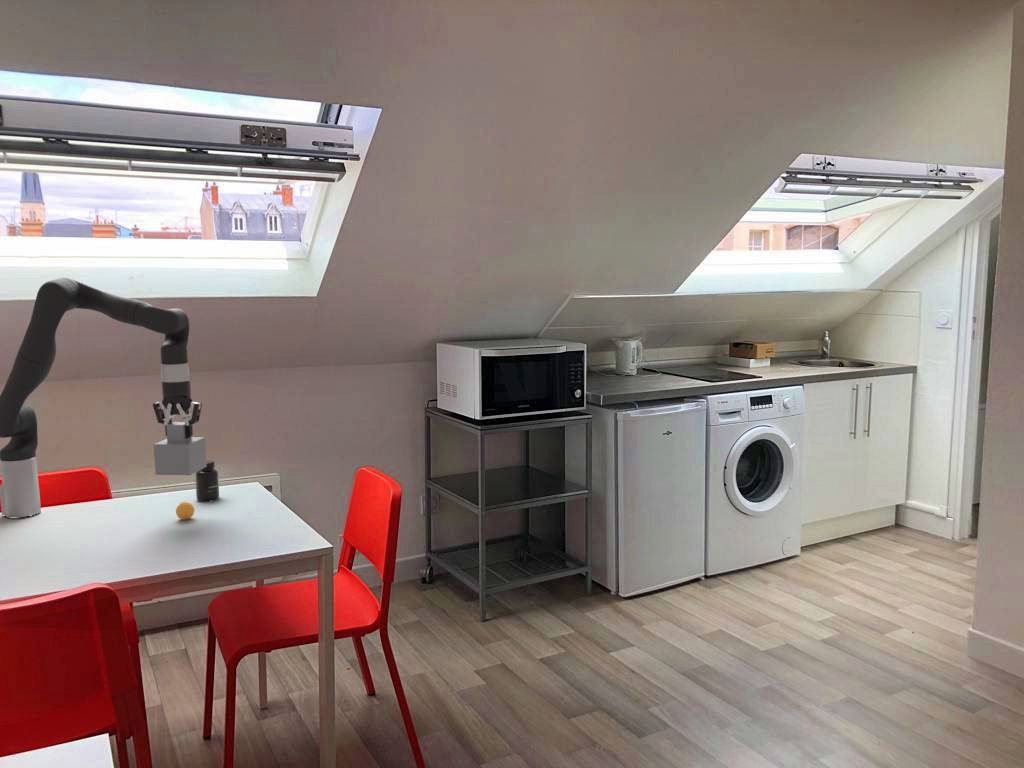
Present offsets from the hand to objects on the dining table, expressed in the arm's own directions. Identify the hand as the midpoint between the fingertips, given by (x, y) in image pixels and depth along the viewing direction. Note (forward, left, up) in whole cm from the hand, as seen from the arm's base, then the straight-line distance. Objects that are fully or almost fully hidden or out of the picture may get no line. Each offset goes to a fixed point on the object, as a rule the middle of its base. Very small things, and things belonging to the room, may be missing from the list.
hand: (179, 437), depth 241 cm
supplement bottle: (-3, +21, -24) cm, 32 cm away
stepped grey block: (0, 0, -10) cm, 10 cm away
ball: (0, 0, -22) cm, 22 cm away
